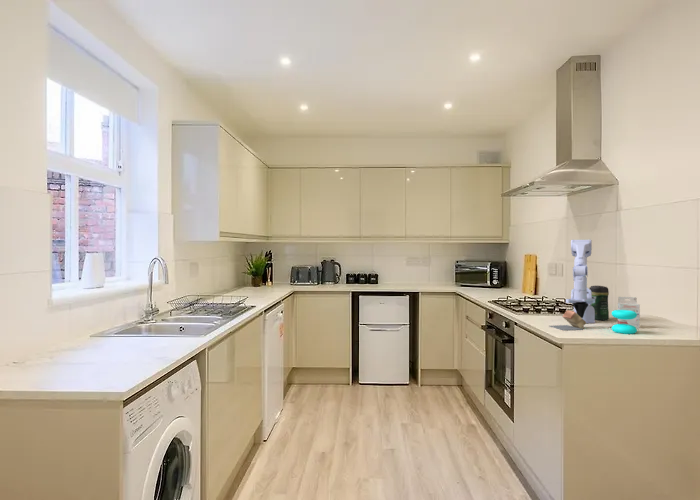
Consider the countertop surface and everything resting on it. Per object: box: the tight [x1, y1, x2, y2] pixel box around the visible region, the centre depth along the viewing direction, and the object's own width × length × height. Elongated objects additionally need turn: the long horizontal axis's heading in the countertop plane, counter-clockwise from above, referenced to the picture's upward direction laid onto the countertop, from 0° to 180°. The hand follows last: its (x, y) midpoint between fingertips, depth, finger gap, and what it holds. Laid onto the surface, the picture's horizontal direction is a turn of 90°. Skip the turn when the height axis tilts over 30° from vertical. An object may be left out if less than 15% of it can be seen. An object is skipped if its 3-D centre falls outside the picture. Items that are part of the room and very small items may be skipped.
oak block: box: [562, 310, 587, 329], centre depth 216 cm, size 4×6×8 cm
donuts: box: [611, 309, 638, 335], centre depth 203 cm, size 10×10×10 cm
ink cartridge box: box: [617, 296, 641, 329], centre depth 217 cm, size 9×5×15 cm, turn 71°
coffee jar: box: [588, 285, 610, 321], centre depth 241 cm, size 10×8×19 cm
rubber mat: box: [549, 324, 584, 331], centre depth 215 cm, size 10×12×1 cm
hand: (580, 317), depth 216 cm, fingers closed
